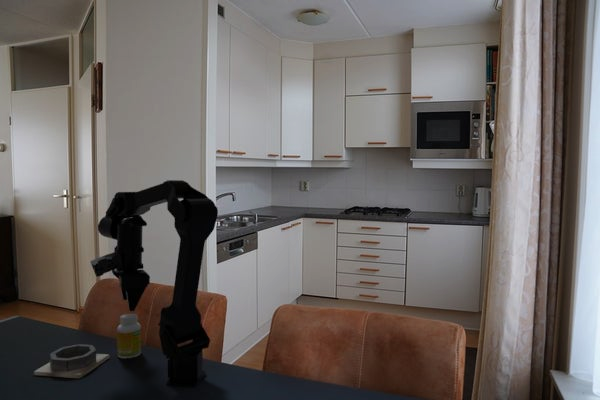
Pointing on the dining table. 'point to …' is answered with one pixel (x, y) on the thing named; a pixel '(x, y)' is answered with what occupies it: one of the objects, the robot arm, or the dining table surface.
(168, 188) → the robot arm
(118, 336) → the supplement bottle
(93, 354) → the collar
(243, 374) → the dining table surface
